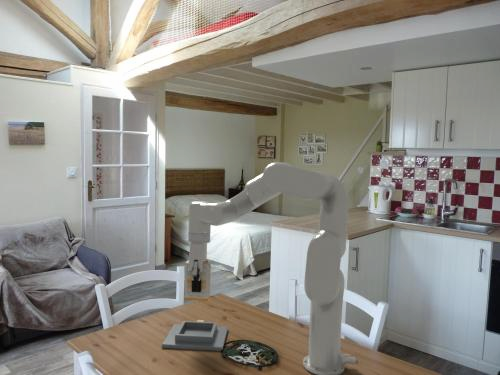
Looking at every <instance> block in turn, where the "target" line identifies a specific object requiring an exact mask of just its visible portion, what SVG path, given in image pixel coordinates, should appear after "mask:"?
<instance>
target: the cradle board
mask: <svg viewBox="0 0 500 375" xmlns="http://www.w3.org/2000/svg"><path fill="white" fill-rule="evenodd" d="M228 327H229V326H222V325H221V326H219V325H218V322H217V321H216V322H214V321H205V320H203V319H197V320H182V322H181V324H180V323H174V324H173V325H172V327H171V328H170V330H169V332H168V333H167V336H166V337H165V339H164V340H163V342H162V343H161V348H162V349H175V350H176V349H179V350H197V351H214V352H215V351H216V352H222V351H221V350H224V347H223V346H225V342H226V338H227V334H228V329H229V328H228Z"/></svg>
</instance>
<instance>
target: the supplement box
mask: <svg viewBox="0 0 500 375" xmlns="http://www.w3.org/2000/svg"><path fill="white" fill-rule="evenodd" d="M188 264H189V259H188V260H186V262H185V264H184V265H185V266H184V301H185V300H186V301H187V300H188V301H201V302H202V301H203V302H205V301H206V302H207V301H209V299H210V298H211V268H212V265H211V264H212V260H207V261H206V262H205V263H204V268H203V271H202V272H201V292H192V274H193V268H192V271H191V272H189V271H188ZM197 271H200V270H197ZM197 274H198V275H199V273H197Z"/></svg>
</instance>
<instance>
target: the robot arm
mask: <svg viewBox="0 0 500 375" xmlns="http://www.w3.org/2000/svg"><path fill="white" fill-rule="evenodd" d="M282 194H283V195H287V196H291V197H295V198H297V199H302V200H307V201H311V202H312V201H313V202H315V201H316V202H317V201H320V209H319V215H318V225H317V233H316V235H315V236H314V237H313V238H311V240H310V241H309V243H308V248H307V252H306V261H305V262H306V263H305V269H304V270H305V272H304V284H303V286H304V292H305V296H306V297H307V298H308V299H309V301H310V308H309V310H310V311H309V330H308V331H309V332H308V334H309V335H308V354H307V355H306V356H304V357H303V359H302V365H303V367H304V368H305V370H306V371H308V372H310V373H312V374H314V375H341V374H343V373H344V372H345V367H346V364H349V365H356V364H357V358H356V357H354V356H351V354H350V353H344V354H343V353H342V352H341V342H342V341H341V338H342V319H343V305H344V304H343V302H344V301H343V300H344V292H345V276H344V273H343V271H342V270H341V261H342V260H341V259H342V258H343V256H344V255H345V252H346V250H347V234H348V225H349V224H348V220H349V219H348V218H349V207H350V205H349V203H350V202H349V200H350V199H349V196H348V192H347V189H346V187H345V185H344V184H343V183H342V181H341V180H340V179H339V178H338V177H336V175H333V174H332V173H330V172H327V171H324V170H323V171H322V170H310V169H305V168H301V167H296V166H293V164H291V163H290V162H284V161H283V162H282V161H281V162H280V161H275V162H271V163H270V164H268V165H267V166H266V167H265V168H264V170H263V172H262V173H260V174H259V175H257V176H255V177H254V178H253V179H251V180H249V181H248V182H246V183H245V185H244V188H243V189H242V191H240V192H239V193H238V194H236V195H235V196H233V197H231V198H230V199H228V200H226V201H221V202H215V203H210V202H208V201H204V200H203V201H198V200H197V201H191V202H190V204H189V205H188V231H187V232H188V236H187V238H188V240H187V242H188V243H190V244H189V250H188V252H189V254H188V260H189V264H188V271H189V272H191V271H192V268H193V274H192V292H201V272H202V271H203V268H204V263H205V262H206V261H208V260H207V258H208V244H209V243H210V242H211V229H212V228H211V226H214V227H218V226H222V225H226V224H230V223H233V222H235V221H236V220H238V219H240V218H242V217H244V216H245V215H247V214H248V213H250V212H252V211H253V210H255V209H257V208H259V207H261V205H263V204H265V203H266V202H267V203H268V201H270V200H272V199H274V198H275V197H278V196H279V195H282ZM197 270H200V271H197ZM197 273H199V275H198V274H197Z"/></svg>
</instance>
